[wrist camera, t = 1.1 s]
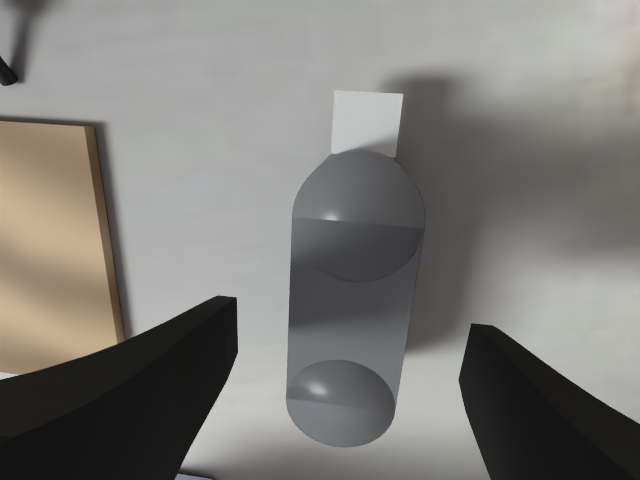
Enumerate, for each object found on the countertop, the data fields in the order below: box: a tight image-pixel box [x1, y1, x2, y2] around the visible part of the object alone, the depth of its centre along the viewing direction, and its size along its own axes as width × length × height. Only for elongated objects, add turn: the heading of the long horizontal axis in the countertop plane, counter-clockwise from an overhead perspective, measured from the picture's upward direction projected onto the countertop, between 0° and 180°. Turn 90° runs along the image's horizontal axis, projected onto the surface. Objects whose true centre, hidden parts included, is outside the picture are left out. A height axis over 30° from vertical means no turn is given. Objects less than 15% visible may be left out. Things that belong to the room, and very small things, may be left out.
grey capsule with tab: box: [286, 90, 425, 447], centre depth 14 cm, size 13×4×5 cm, turn 177°
